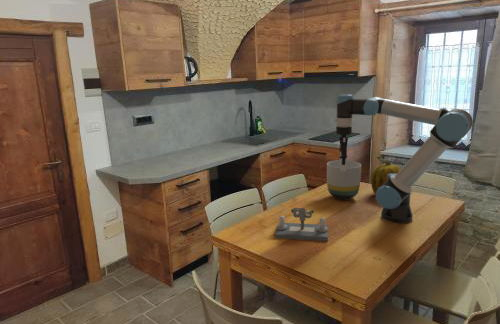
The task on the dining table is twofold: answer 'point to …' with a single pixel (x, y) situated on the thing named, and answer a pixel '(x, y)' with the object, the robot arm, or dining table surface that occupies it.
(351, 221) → the dining table surface
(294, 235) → the gear board
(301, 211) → the mechanical component
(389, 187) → the robot arm
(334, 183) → the planter
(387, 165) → the pumpkin
